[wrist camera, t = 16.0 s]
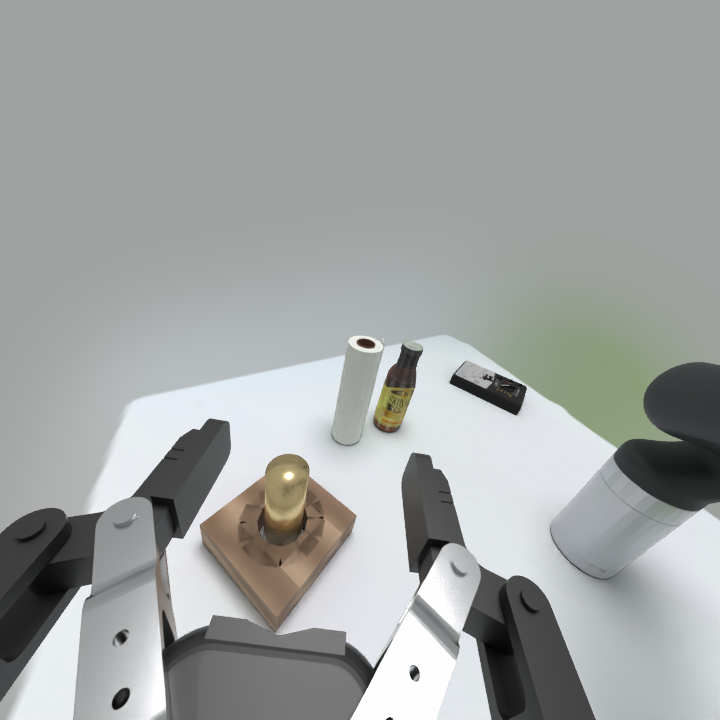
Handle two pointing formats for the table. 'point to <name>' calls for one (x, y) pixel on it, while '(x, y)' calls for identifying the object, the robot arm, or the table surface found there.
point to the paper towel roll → (356, 388)
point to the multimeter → (490, 386)
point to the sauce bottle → (398, 388)
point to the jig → (276, 548)
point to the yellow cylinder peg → (285, 498)
